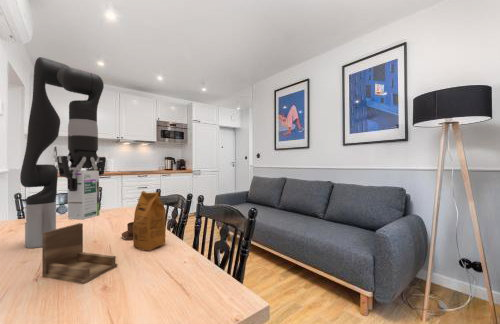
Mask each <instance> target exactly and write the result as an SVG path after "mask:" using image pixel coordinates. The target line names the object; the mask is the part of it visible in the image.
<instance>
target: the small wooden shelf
mask: <svg viewBox="0 0 500 324" xmlns="http://www.w3.org/2000/svg"><path fill="white" fill-rule="evenodd" d="M83 225H84V223H82V222H80V223H75V224H71V225H66V226H64V227H59V228H56V229H55V230H51V231H47V232H43V233H42V247H41V248H42V266H41V267H42V269H41V273H42V274H41V275H42V276H41V277H43V278H48V279H53V280H59V281H65V282H70V283H76V284H82V285H85V284H86V283H89V282H90V281H92V280H94V279H96V278H98V277H101V276H102V275H104V274H106V273H107V272H109V271H110V272H111V270H113V269H115V268H117V267H118V263H116V262H117V261H116V259H117V258H116V257H117V256H115V255H107V254H100V253H92V252H84V247H83V246H84V228H83V227H84V226H83Z"/></svg>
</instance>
